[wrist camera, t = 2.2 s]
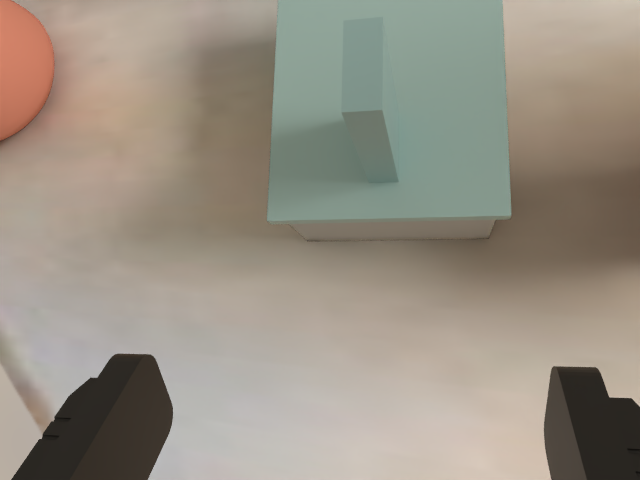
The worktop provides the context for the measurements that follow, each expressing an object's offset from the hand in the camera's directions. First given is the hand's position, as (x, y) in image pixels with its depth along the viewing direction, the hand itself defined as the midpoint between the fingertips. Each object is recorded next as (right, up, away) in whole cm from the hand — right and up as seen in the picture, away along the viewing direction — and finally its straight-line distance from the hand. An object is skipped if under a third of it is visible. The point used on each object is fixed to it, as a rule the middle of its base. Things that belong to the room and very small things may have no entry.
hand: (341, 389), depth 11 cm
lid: (+3, +12, +21) cm, 25 cm away
